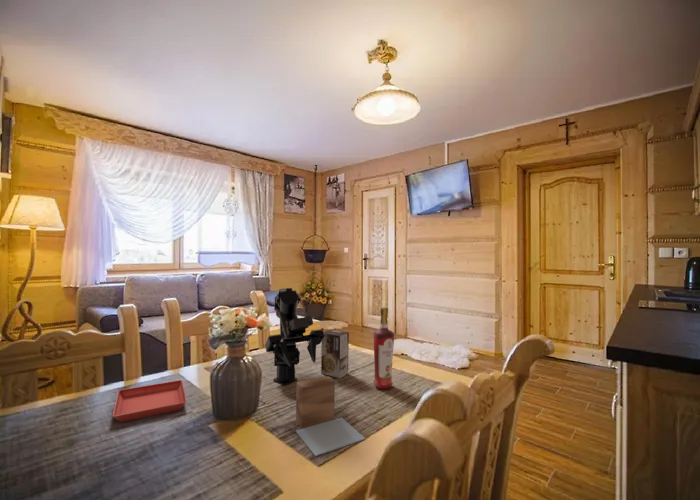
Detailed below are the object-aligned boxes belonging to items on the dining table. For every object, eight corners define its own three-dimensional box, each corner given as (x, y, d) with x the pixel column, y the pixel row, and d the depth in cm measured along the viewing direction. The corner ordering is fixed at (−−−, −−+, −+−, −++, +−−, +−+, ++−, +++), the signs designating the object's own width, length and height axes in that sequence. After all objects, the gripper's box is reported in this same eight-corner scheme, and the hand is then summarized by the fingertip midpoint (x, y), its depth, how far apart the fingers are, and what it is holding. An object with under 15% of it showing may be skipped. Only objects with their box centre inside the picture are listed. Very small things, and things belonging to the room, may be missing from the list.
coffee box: (348, 373, 129) (349, 332, 129) (339, 378, 124) (340, 335, 124) (330, 368, 134) (330, 328, 134) (320, 373, 129) (321, 332, 129)
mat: (295, 431, 88) (295, 430, 88) (341, 418, 95) (341, 417, 95) (315, 456, 77) (315, 455, 77) (365, 439, 85) (365, 438, 85)
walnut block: (295, 421, 93) (296, 382, 93) (327, 413, 98) (328, 375, 98) (301, 428, 89) (302, 387, 89) (334, 419, 95) (334, 380, 95)
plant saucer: (187, 412, 98) (187, 400, 98) (111, 428, 88) (112, 415, 88) (182, 389, 113) (182, 379, 113) (117, 400, 104) (117, 390, 104)
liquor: (386, 381, 122) (387, 305, 122) (397, 388, 116) (398, 308, 116) (368, 384, 119) (370, 306, 119) (379, 392, 113) (380, 310, 112)
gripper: (268, 309, 102) (280, 355, 92) (322, 305, 112) (338, 346, 102) (260, 329, 109) (271, 374, 99) (312, 324, 118) (326, 364, 109)
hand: (302, 364), depth 102 cm, fingers open, 8 cm apart
